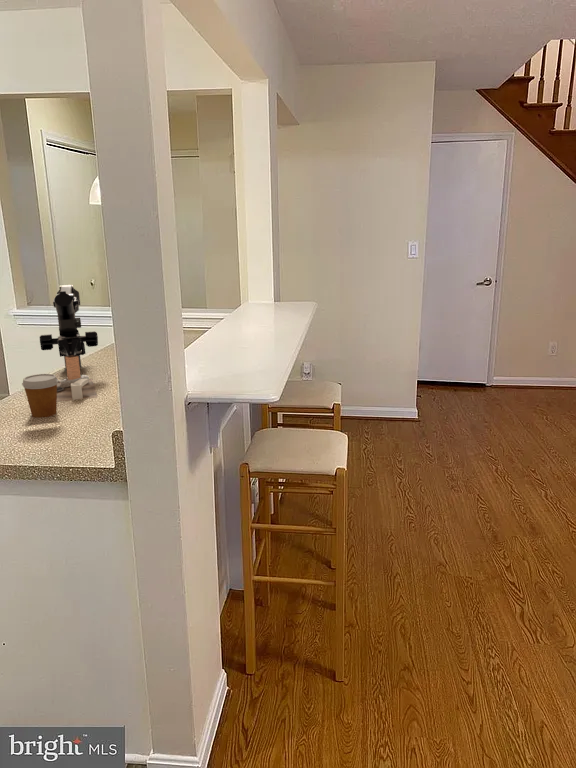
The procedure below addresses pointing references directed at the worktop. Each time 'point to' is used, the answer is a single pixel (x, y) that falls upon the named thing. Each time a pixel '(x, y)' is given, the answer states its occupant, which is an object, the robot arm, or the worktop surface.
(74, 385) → the block
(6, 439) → the worktop surface
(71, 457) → the worktop surface
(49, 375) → the disposable coffee cup
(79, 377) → the lever link
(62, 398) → the walnut board
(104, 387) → the worktop surface
